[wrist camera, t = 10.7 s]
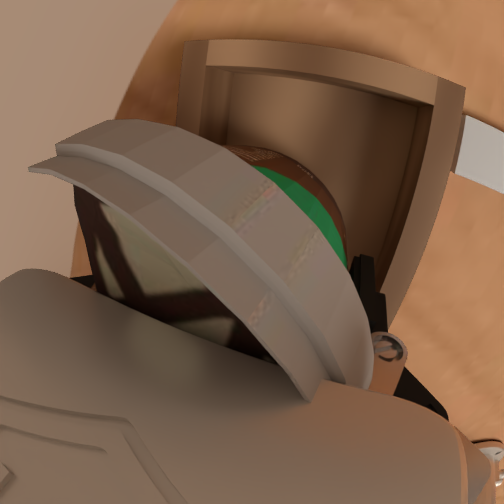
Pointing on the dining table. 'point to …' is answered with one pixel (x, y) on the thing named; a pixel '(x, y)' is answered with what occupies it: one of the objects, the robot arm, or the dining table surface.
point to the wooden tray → (337, 135)
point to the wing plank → (480, 153)
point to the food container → (220, 245)
